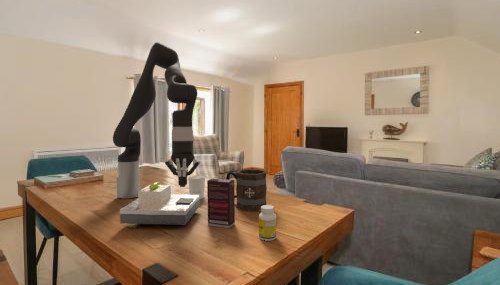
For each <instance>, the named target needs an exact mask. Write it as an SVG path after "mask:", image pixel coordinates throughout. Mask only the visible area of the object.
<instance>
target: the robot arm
mask: <svg viewBox="0 0 500 285" xmlns="http://www.w3.org/2000/svg"><path fill="white" fill-rule="evenodd" d="M156 66H158V67H160V68H161V69H164V70H165V71H164V79H165V82H166V84H167V89H166V97H167V99H168V101H169V102H171V103H172V104H185V106H184V108H182V109H177V110H174V111H172V118H171V119H172V120H171V121H172V122H171V123H172V125H171V126H172V129H171V156H170V158H169V159H168V160H166V161H165V162H164V165H165V166H167V168H168V169H169V170H170V172H171V173H172V175H174V176H177V178H178V181H177V182H178V186H179V187H180V188H185V187H186V186H187V185H188V177H189V176H192V174H193V173H194V172H195V170H197V168H198V167H199V166H200V164H201V161H199V160H197V159H196V157H195V154H194V129H193V114H194V110H195V105H196V101H197V99H198V89H197V87H196V86H195V85H194V84H192V83H187V79H186V77H185V76H184V74H183V71H182V69H181V64H180V59H179V55H178V53H177V52H176V50H174V49H173V48H171V47H169V46H166V45H164V44H163V43H160V42H158V41H156V42H154V44H152V45H151V48H150V50H149V53H148V56H147V59H146V62H145V64H144V67H143V70H142V73H141V75H140V78H139V79H138V82H137V84H136V86H135V89H134V90H133V93H132V95H131V98H130V99H129V103H128V105H127V106H126V109H125V111H124V113H123V115H122V117H121V119H120V121H119V123H118V124H117V126H116V127H115V129H114V132H113V135H112V143H113V144H114V146H116V147H117V148H124V151H123V152H122V153H120V154H119V155H118V156H117V176H118V177H116V178H115V179H116V198H117V199H118V198H119V199H124V200H125V199H134V198H138V191H140V190H141V188H140V155H141V143H142V139H141V133H140V130H139V129H138V128H136V127H134V126H135V125H136V124H137V123H138V121H140V119H142V118H143V117H144V116H145V115H147V113H148V112H149V110H151V108H152V107H153V103H154V102H155V101H156V100H155V99H156V95H157V94H156V87H155V82H154V69H155V67H156ZM191 164H192V166H191ZM174 165H175V166H174ZM190 166H191V168H190V169H189V167H190Z"/></svg>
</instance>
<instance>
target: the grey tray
mask: <svg viewBox="0 0 500 285" xmlns="http://www.w3.org/2000/svg"><path fill="white" fill-rule="evenodd" d="M200 204H201V203H200V199H199V200H198V201H197V202H196V203H195V204H194V206H193V207H192V208H191V209H190V210H189V211H188V213H187V214H186V215H145V214H120V213H119V218H120V219H119V222H120V224H126V226H127V228H128V229H136V228H138V226H139V227H140V226H141V225H175V226H176V225H181V226H182V225H183V226H185V225H186V224H187V223H188V222H189V221H191V220H192V217H193V215H194V214H196V212H197V210H198V209H199V208H200V206H201V205H200ZM135 227H136V228H135Z"/></svg>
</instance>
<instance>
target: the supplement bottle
mask: <svg viewBox="0 0 500 285" xmlns="http://www.w3.org/2000/svg"><path fill="white" fill-rule="evenodd" d="M260 211H261V212H260V213H259V215H258V237H259V239H260V240H262V241H264V240H265V241H266V242H270V241H274V240H276V239H277V215H276V213H274V212H275V207H274V206H273V205H270V204H267V205H263V206H261V210H260Z"/></svg>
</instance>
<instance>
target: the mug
mask: <svg viewBox="0 0 500 285" xmlns="http://www.w3.org/2000/svg"><path fill="white" fill-rule="evenodd" d="M267 172H268V170H267V171H266V170H265V169H259V168H258V169H255V168H253V169H251V168H248V169H239V170H237V171H236V172H234V171H230V172H227V173H226V174H227V175H226V177H225V179H229V180H231V178H230V177H231V176H233V178H234V180H236V188H235V191H236V192H235V193H236V194H235V199H236V204H235V206H236V207H235V208H236V209H238V210H241V211H243V212H259V211H261V206H263V205H268V203H267V190H268V189H267V188H268V187H267Z"/></svg>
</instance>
